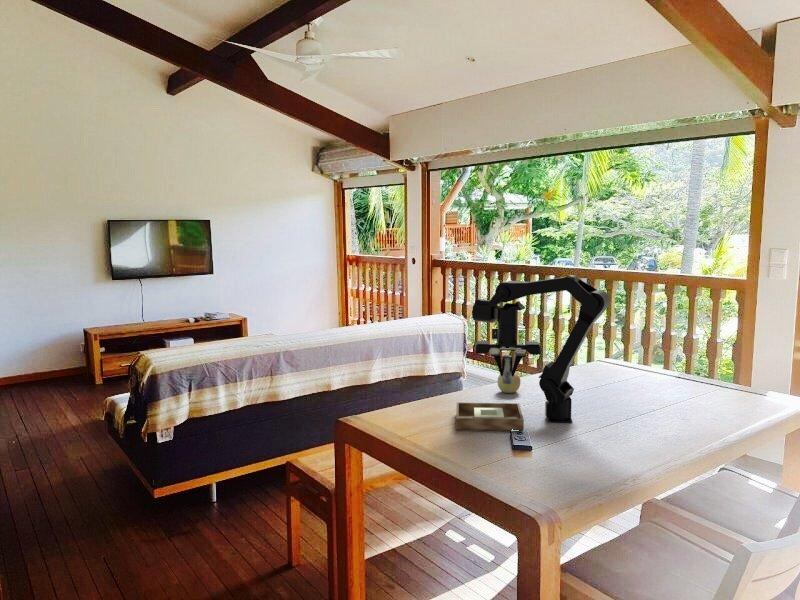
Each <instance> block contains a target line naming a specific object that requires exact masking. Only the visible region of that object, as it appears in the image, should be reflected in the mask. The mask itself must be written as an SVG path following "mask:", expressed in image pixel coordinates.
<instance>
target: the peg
mask: <svg viewBox="0 0 800 600" xmlns="http://www.w3.org/2000/svg"><path fill="white" fill-rule="evenodd" d="M501 365H502V383H503V384H512V367H513V356H512V355H509V354H505V355H502V356H501Z"/></svg>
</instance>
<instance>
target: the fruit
mask: <svg viewBox="0 0 800 600" xmlns="http://www.w3.org/2000/svg"><path fill="white" fill-rule="evenodd" d="M497 386H498V388H499V390H500V391H501V392H502V393H507V394H508V393H510V394H512V393H516V392H517V391H518V390H519V389H520V387H521V377H520V375H519V374H518V373H517V372H515V374H514V376H512V384H503V383H502V376H501V375H500V374H499V376H498V377H497Z"/></svg>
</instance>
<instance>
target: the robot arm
mask: <svg viewBox="0 0 800 600" xmlns="http://www.w3.org/2000/svg"><path fill="white" fill-rule="evenodd" d="M563 291H566V292H568V293H569V294H570V295H571V296H572V297H573V299H575V300H576V301H577V302H578V303H579V304H580V307H579V309H578V317H577V321H575V324H574V325H573V328H572V329H571V331H570V333H569V336H568V337H567V339H566V341H565V343H564V344H563V346H562V349H561V350H560V352H559V354H558V356H557V358H556V360H555V361H550V362H548V363H547V364H545V365H544V367H543V370H542V373H541V374H540V375H539V376H538V378H539V381H538V384H539V385H538V386H539V387H540V389H541V391H542V392H543V395H544V396H545V399H546V401H545V405H544V407H545V408H544V416H545V418H546V419H547V421H548V422H549V423H573V419H572V404H573V403H572V402H573V401H572V398H571V396H572V395H573V393H574V391H575V388H574V387H573V386H572V385H571V384H570V382H569V381H568V377H569V374H570V368H571V365H572V363H573V361H574V360H575V358H576V356H577V354H578V352H579V350H580V348H581V347H582V344H584V343H583V342H584V341H585V340H586V337H587V336H588V334H589V332H590V330H591V329H592V326H594V324H595V323H596V321H598V319H599V318H600V317H601V316H602V315H603V314H604V313H605V311H606V310H607V309H608V307H609V306H610V303H611V299H610V296H609V294H608V293H607V292H605V290H601V289H597V288H596V287H594V286H593V285H591V284H589V283H587V282H585V281H583V280H582V279H581V278H579V277H578V276H577V275H574V274H571V275H567V276H562V277H555V278H554V277H553V278H547V279H541V280H536V281H524V280H508V281H505V282H500V283H499V284H498V285H497V286H496V288H495V293H494V295H493V296H492V297H491V299H483V298H477V299H475V303H474V305H473V308H472V311H471V317H472V320H473V321H474V322H477V323H478V322H479V323H490V324H491V323H492V324H493V323H494V322H496V321H497V328H491V340H496V343H490V342H489V340H477V341H476V342H475V348H474V349H475V350H474V351H475V354H477V355H487V354H488V353H489V357H491V358H494V361H495V363H496V365H497V369H498V371H499V375H501V376H502V356H501V353H500V352H501V351H508V352H509V351H513V358H512V376H514V374H515V373H517V369H518V366H519V364H520V363H521V361H522V359H523V358H526V357H527V354H526V352H527V353H528V354H529V355H541V353H542V348H541V344H540V342H538V340H537V341H536V340H533V341H532V340H528V341H525V342H524V343H525V344H523V343H522V344H521V343H520V344H519V343H518V333H519V332H518V331H519V330H518V327H519V325H518V323H519V322H518V321H519V318H518V316H519V311H523V310H525V309H526V306H525V305H523V303H521V301H520V300H518V299H520V298H523V297H527V296H534V295H541V294H548V293H556V292H557V293H558V292H563ZM515 300H518V301H516V302H514V303H511V302H512V301H515ZM503 303H504V305H500V304H503Z"/></svg>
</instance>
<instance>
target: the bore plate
mask: <svg viewBox="0 0 800 600" xmlns="http://www.w3.org/2000/svg"><path fill="white" fill-rule="evenodd" d="M474 418H504V415H503V410H502V408H474Z"/></svg>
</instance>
